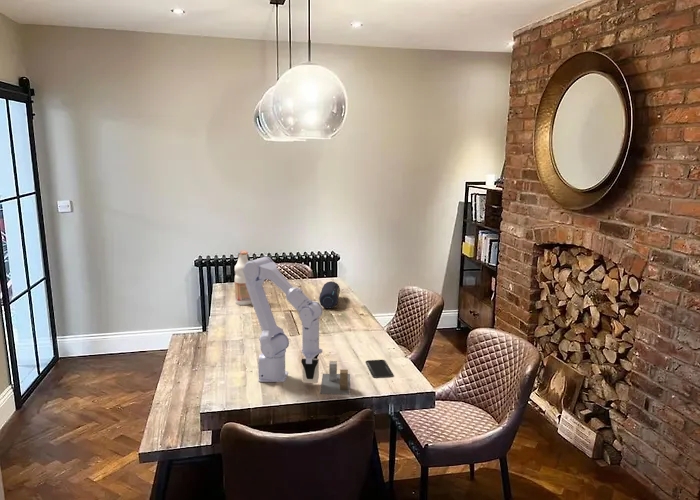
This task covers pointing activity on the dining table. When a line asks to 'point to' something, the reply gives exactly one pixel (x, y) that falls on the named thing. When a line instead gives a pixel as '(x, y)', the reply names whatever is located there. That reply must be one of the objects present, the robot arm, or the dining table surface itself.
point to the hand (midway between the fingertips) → (310, 374)
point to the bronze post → (343, 379)
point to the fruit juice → (241, 281)
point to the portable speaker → (329, 295)
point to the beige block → (316, 374)
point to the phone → (379, 368)
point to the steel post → (333, 371)
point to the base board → (333, 386)
